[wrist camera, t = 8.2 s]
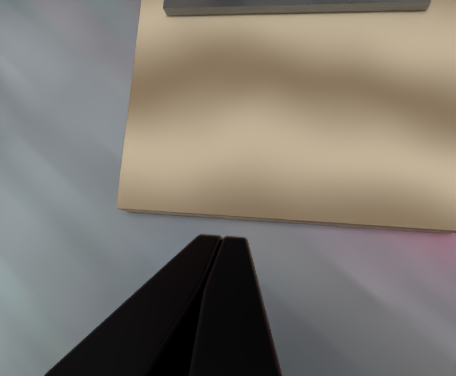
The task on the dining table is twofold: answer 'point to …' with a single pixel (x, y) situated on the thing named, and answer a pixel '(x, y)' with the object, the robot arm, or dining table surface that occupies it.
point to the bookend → (286, 6)
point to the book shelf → (295, 117)
